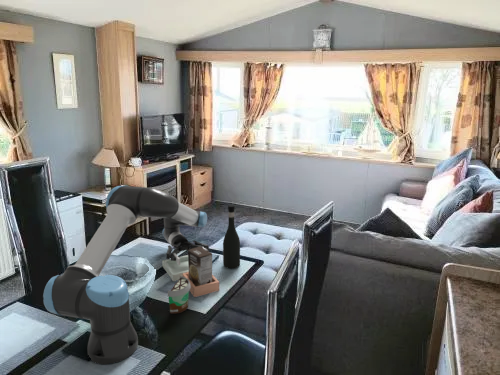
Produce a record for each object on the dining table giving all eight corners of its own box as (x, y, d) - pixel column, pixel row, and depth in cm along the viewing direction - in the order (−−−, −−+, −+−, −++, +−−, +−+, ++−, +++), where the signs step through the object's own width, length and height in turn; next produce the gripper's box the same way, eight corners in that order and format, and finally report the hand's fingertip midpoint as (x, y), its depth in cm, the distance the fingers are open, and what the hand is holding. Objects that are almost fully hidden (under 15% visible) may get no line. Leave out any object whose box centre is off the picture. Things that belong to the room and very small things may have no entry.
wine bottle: (220, 264, 172) (219, 205, 165) (233, 260, 177) (233, 202, 170) (229, 271, 166) (229, 209, 159) (243, 266, 171) (243, 206, 163)
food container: (184, 317, 131) (183, 293, 129) (168, 315, 133) (167, 291, 130) (195, 299, 143) (195, 276, 141) (181, 297, 144) (180, 275, 142)
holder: (194, 297, 145) (194, 288, 144) (182, 281, 157) (182, 273, 156) (219, 290, 150) (219, 281, 149) (206, 276, 162) (206, 267, 161)
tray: (173, 281, 157) (172, 275, 156) (162, 266, 170) (162, 260, 170) (211, 271, 166) (211, 265, 165) (198, 258, 179) (198, 252, 178)
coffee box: (188, 284, 154) (187, 249, 150) (201, 279, 159) (200, 245, 155) (200, 293, 148) (199, 257, 144) (213, 287, 152) (212, 252, 148)
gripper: (202, 244, 182) (220, 260, 165) (153, 254, 170) (166, 272, 153) (202, 230, 181) (220, 245, 163) (152, 239, 169) (165, 256, 151)
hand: (194, 258), depth 158 cm, fingers open, 13 cm apart
